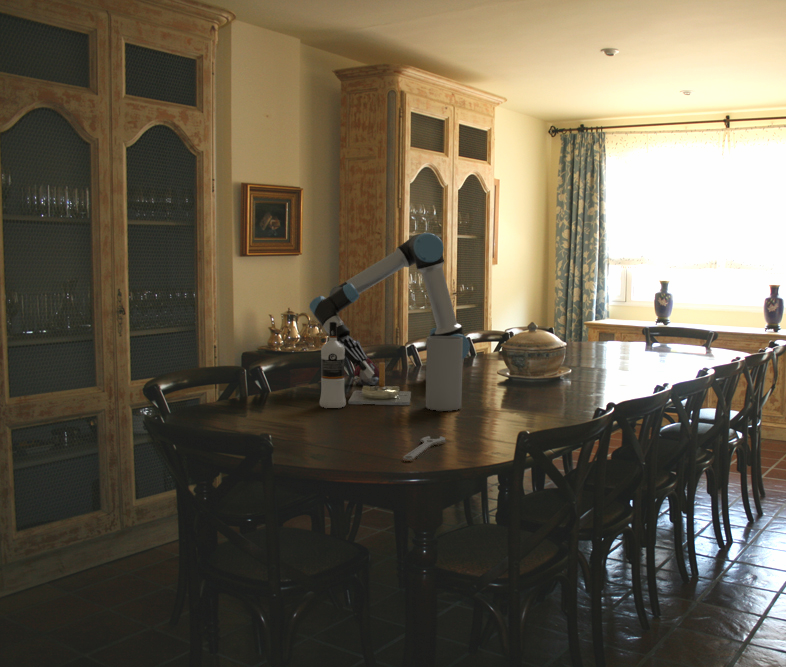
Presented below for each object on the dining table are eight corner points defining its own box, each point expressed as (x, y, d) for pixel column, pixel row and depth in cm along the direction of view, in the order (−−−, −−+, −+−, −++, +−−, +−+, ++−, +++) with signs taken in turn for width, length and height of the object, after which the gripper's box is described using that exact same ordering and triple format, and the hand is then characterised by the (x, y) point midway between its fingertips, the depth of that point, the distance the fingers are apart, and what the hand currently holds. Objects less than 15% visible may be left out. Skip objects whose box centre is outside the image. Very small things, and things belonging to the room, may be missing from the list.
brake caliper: (383, 376, 312) (380, 356, 304) (379, 395, 304) (375, 375, 296) (357, 375, 314) (353, 355, 306) (352, 394, 306) (348, 374, 298)
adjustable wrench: (411, 464, 187) (411, 458, 187) (389, 461, 190) (389, 454, 190) (448, 443, 210) (448, 436, 209) (427, 440, 212) (427, 434, 212)
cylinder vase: (418, 407, 258) (419, 337, 256) (443, 403, 266) (445, 335, 264) (442, 413, 249) (444, 340, 247) (468, 409, 257) (470, 338, 255)
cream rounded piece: (400, 392, 280) (400, 363, 279) (398, 399, 266) (399, 368, 265) (363, 391, 281) (364, 362, 280) (360, 398, 267) (360, 367, 266)
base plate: (410, 394, 284) (411, 390, 284) (409, 405, 262) (409, 401, 262) (354, 393, 285) (354, 389, 285) (348, 404, 263) (348, 400, 263)
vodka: (347, 404, 263) (348, 321, 260) (343, 409, 253) (344, 323, 251) (322, 403, 264) (322, 320, 261) (317, 408, 254) (317, 322, 251)
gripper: (341, 334, 296) (375, 379, 288) (321, 337, 285) (355, 384, 278) (352, 322, 292) (386, 367, 285) (332, 324, 282) (367, 371, 274)
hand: (371, 375), depth 281 cm, fingers closed
